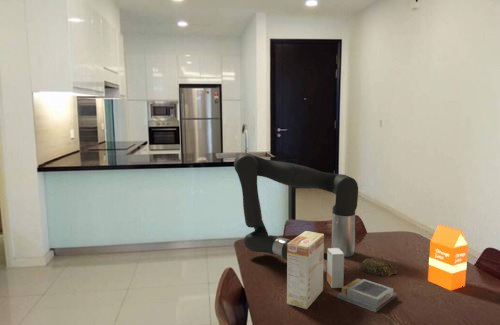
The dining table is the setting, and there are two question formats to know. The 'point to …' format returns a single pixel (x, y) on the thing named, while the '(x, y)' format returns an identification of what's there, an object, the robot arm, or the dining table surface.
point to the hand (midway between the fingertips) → (322, 260)
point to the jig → (367, 294)
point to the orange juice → (448, 258)
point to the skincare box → (335, 267)
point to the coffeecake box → (305, 269)
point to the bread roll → (378, 267)
